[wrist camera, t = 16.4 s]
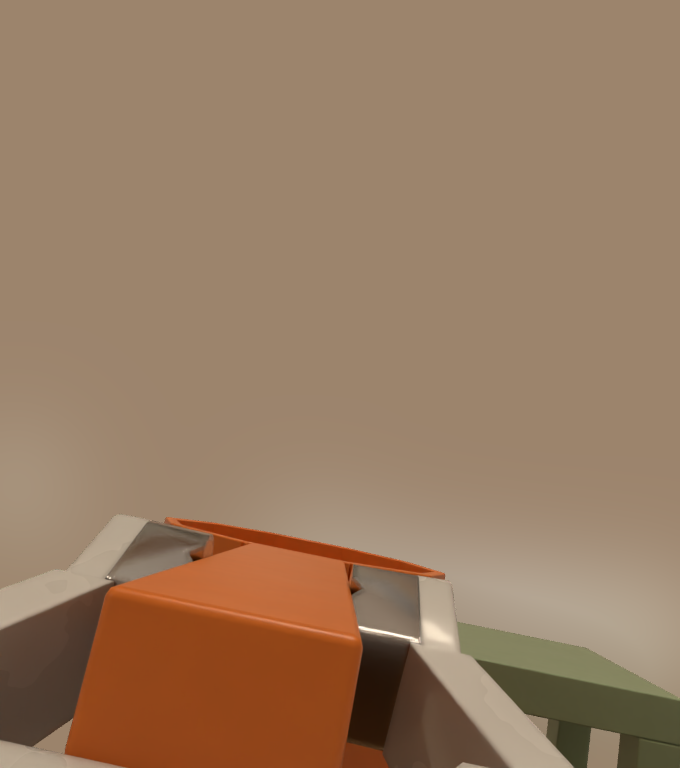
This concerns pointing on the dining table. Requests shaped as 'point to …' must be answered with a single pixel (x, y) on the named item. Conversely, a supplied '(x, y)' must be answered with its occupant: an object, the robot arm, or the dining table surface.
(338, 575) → the measuring cup
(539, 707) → the plant stand
